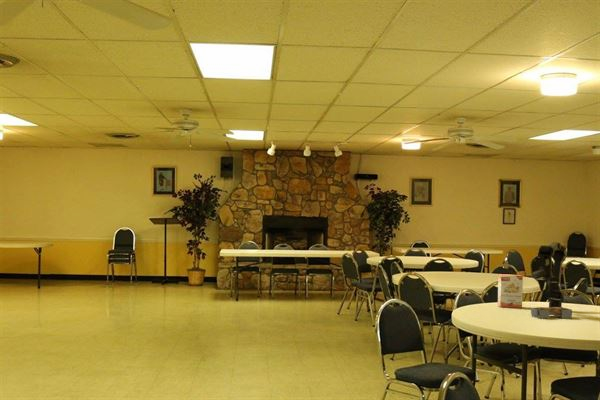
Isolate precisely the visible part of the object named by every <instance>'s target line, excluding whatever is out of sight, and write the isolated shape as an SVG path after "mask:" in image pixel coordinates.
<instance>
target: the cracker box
mask: <svg viewBox="0 0 600 400" xmlns="http://www.w3.org/2000/svg"><path fill="white" fill-rule="evenodd" d="M523 277H524V276H523V275H520V274H507V273H506V274H504V273H503V274H502V273H500V274H498V283H497V307H499V308H511V309H512V308H513V309H522V308H523V285H524V284H523V283H524V282H523V281H524V280H523V279H524V278H523Z"/></svg>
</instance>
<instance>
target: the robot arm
mask: <svg viewBox="0 0 600 400" xmlns="http://www.w3.org/2000/svg"><path fill="white" fill-rule="evenodd" d="M567 255H568V251H567V248H566V247H564V246H563V245H562V243H560V242H556V241H555V242H551V243H550V244H547V245H541V246H540V247H539V248H538V252H537V257H538V258H537V259H536V260H535V264H536V266H537V267H539V268H538V269H539V270H535V271H533V272H531V275H532V277H533V279H534V280H535V282H537V283H538V285H539V290H540V292H543V291H544V288H545V285H546V284H548V286H547V287H548V288H547V292H546V300H547V301H549V302H548V307H562V303H563V302H565V297H564V293H563V289H562V287H561V277H562V269H563V268H562V267H563V263H564V262H565V261H566V258H567ZM552 260H553V262H552ZM552 263H553V264H552ZM552 265H553V267H552Z"/></svg>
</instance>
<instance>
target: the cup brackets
mask: <svg viewBox="0 0 600 400" xmlns="http://www.w3.org/2000/svg"><path fill="white" fill-rule="evenodd" d="M565 308H566V310H561V315H549V310H538V309H537V307H531V308H530V314H531V317H533V318H536V319H538V320H539V319H540V318H541V319H542V318H543V320H548V319H563V320H567V319H568V320H569V319H572V316H573V309H571V308H567V307H565ZM544 318H545V319H544ZM541 319H540V320H541Z"/></svg>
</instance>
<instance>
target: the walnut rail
mask: <svg viewBox="0 0 600 400" xmlns="http://www.w3.org/2000/svg"><path fill="white" fill-rule="evenodd" d="M536 308H537V309H538V310H549V316H554V315H561V310H566V308H567V307H549V306H548V307H546V306H542V307H541V306H538V307H536Z"/></svg>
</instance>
